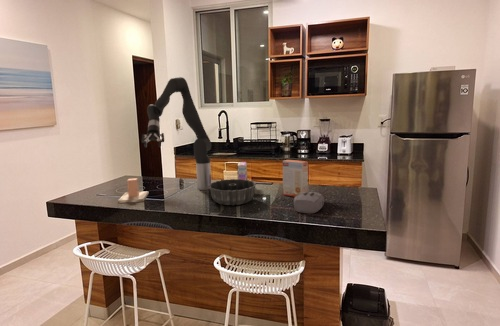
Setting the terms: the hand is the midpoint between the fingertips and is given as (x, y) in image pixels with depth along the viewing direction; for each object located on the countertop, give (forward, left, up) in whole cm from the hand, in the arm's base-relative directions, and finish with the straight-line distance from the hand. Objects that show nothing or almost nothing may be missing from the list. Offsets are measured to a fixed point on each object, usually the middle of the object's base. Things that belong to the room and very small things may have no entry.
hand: (152, 146), depth 206 cm
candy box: (-57, +10, -29) cm, 65 cm away
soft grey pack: (-86, +59, -29) cm, 108 cm away
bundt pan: (-48, +39, -29) cm, 68 cm away
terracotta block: (+10, +19, -27) cm, 34 cm away
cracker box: (-85, +36, -29) cm, 97 cm away
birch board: (+10, +19, -29) cm, 36 cm away
